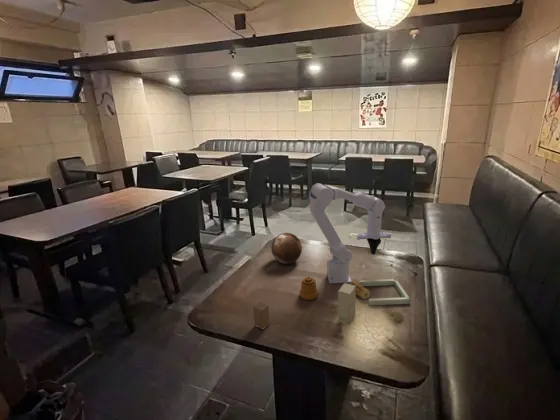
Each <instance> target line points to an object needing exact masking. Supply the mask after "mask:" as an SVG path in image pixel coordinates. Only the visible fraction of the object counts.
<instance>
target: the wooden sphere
mask: <svg viewBox="0 0 560 420" xmlns="http://www.w3.org/2000/svg"><path fill="white" fill-rule="evenodd" d="M302 252H303V245H302V242H301V240H300V239H299V237H298V236H297V235H295V234H293V233H291V232H283V233H280V234H277V236H275V238H274V239H273V240H272V243H271V254H272V256H273V257H274V259H275V260H276V261H277V262H279V263H282V264H286V265H287V264H293V263H295V262H296V261H297V260H298V259H299V258H300V257H301V254H302Z"/></svg>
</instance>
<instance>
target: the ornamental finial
mask: <svg viewBox="0 0 560 420" xmlns="http://www.w3.org/2000/svg"><path fill="white" fill-rule="evenodd" d="M300 283H301V284H300V285H301V287H300V289H299V296H300V298H302V299H303V300H305V301H313V300H315V299H317V297H318V295H319V290H318V289H317V282H316V279H314V278H313V277H311V276H306V277H304V278H303V279H301V282H300Z"/></svg>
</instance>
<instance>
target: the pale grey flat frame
mask: <svg viewBox="0 0 560 420" xmlns="http://www.w3.org/2000/svg"><path fill="white" fill-rule="evenodd" d="M359 284H361V285H362V287H373V286H376V287H377V286H394V287H395V288H396V290H397V292H398V293H399V295H400V296H401V297H383V298H381V297H380V298H368V305H369V306H385V305H406V304H407V305H409V304H411V298H410V296H409V295H408V294H407V292H406V291H405V289H404V287H402V285H401V284H400V282H399V280H398V279H397V278H388V279H370V280H369V279H368V280H366V279H365V280H364V279H363V280H359Z"/></svg>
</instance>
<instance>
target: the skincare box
mask: <svg viewBox="0 0 560 420" xmlns="http://www.w3.org/2000/svg"><path fill="white" fill-rule="evenodd" d="M337 292H338V294H337V295H338V297H337V304H338V307H337V308H338V309H337V321H338V322H341V323H343V324H346V325H351V323H352V322H353V320H354V318H355V316H356V300H357V299H356V297H357V294H356V286H355V285H351V283H342V285H341V286H340V288H339V289H338V291H337Z"/></svg>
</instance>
